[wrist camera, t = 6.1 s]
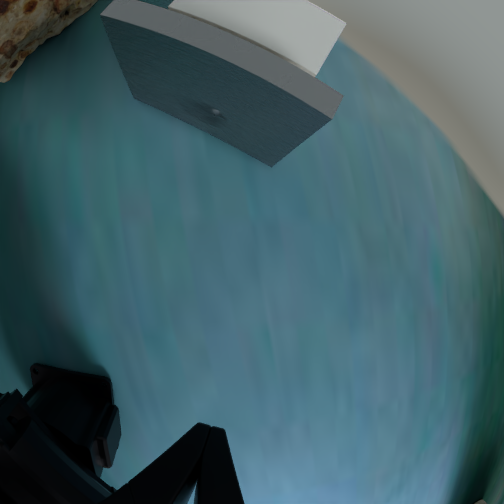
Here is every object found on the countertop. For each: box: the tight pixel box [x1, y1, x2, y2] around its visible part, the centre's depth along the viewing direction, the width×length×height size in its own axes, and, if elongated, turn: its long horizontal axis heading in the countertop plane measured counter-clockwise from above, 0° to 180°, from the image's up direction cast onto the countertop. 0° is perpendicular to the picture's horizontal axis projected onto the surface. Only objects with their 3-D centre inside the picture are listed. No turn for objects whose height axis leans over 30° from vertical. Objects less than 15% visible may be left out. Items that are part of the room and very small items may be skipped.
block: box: [168, 0, 347, 77], centre depth 15 cm, size 4×8×7 cm, turn 62°
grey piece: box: [100, 0, 343, 167], centre depth 14 cm, size 9×10×9 cm
